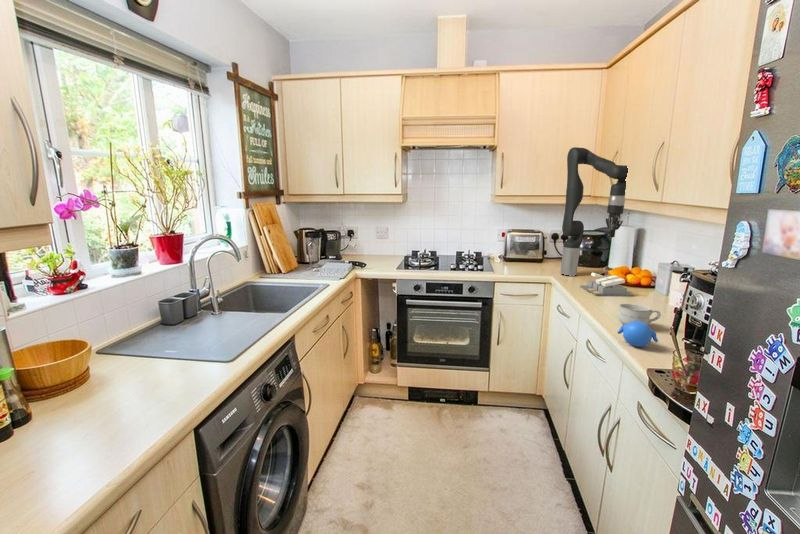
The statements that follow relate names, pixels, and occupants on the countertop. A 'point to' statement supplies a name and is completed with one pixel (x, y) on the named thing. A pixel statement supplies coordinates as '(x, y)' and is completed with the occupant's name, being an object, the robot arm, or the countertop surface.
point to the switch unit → (605, 289)
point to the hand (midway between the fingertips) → (611, 237)
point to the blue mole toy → (637, 333)
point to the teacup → (636, 313)
